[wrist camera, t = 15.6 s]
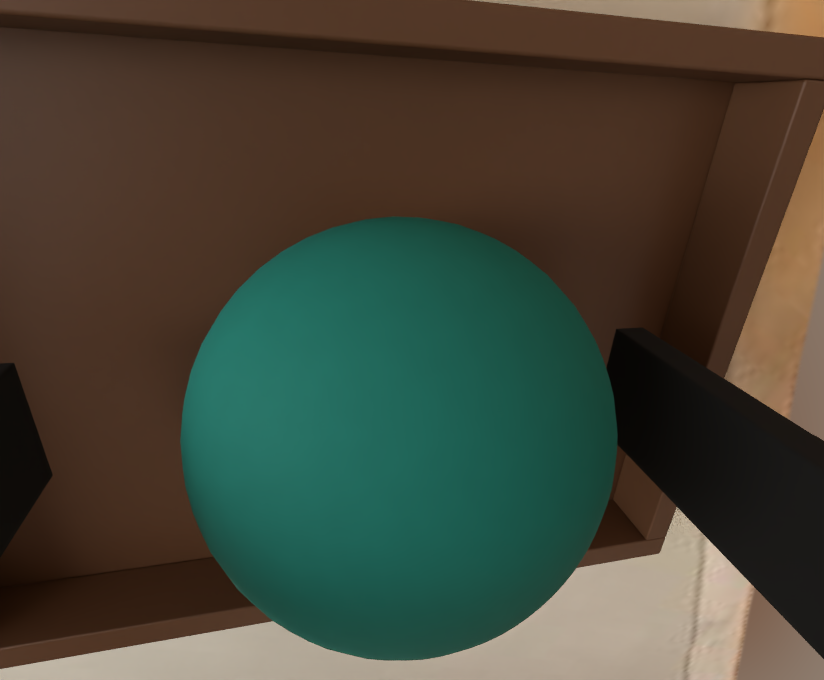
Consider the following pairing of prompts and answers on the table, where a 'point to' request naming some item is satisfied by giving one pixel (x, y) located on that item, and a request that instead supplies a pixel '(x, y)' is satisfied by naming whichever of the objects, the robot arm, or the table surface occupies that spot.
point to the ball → (399, 438)
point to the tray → (333, 206)
